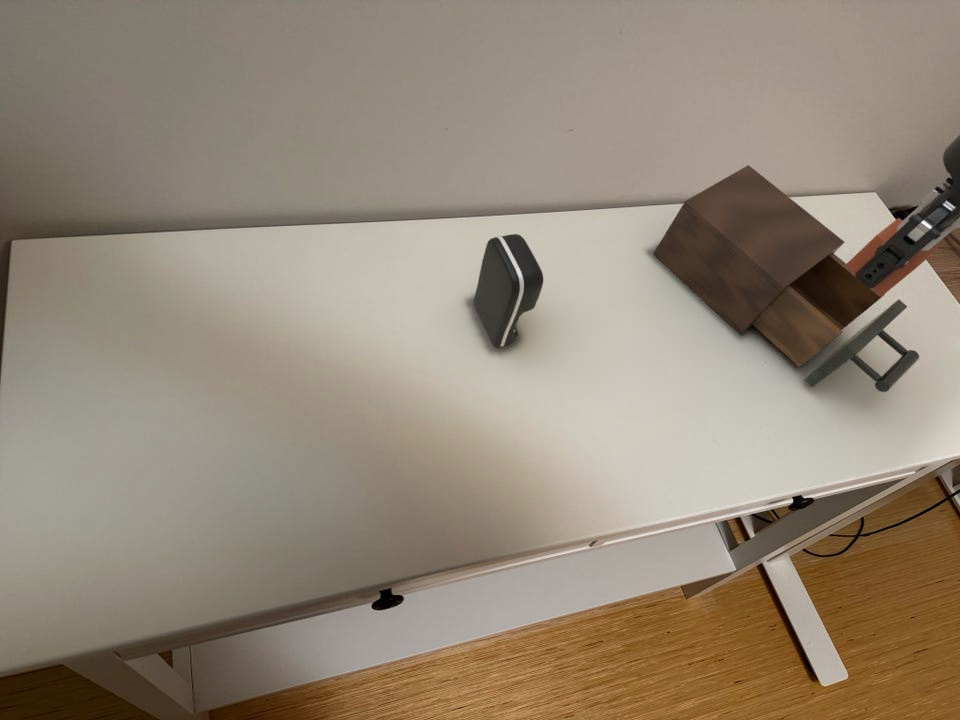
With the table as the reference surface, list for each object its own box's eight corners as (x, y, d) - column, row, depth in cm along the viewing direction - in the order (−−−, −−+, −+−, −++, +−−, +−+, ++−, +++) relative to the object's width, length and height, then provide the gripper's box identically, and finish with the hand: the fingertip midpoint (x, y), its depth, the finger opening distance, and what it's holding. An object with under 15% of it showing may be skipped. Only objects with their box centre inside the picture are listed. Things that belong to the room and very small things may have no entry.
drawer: (895, 371, 70) (946, 337, 63) (847, 420, 65) (897, 389, 58) (775, 267, 75) (810, 227, 69) (722, 305, 71) (755, 266, 64)
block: (902, 277, 61) (939, 247, 57) (881, 296, 59) (917, 266, 55) (866, 248, 62) (899, 217, 58) (844, 265, 60) (876, 234, 56)
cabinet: (797, 290, 75) (845, 241, 68) (739, 334, 70) (785, 287, 62) (712, 217, 80) (748, 164, 72) (652, 253, 75) (684, 200, 67)
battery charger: (526, 342, 64) (553, 276, 55) (494, 351, 63) (516, 285, 54) (501, 293, 67) (523, 223, 58) (471, 300, 66) (488, 229, 57)
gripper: (1046, 192, 42) (872, 327, 56) (1109, 131, 48) (938, 267, 62) (953, 130, 44) (810, 274, 58) (1025, 79, 50) (879, 221, 64)
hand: (876, 270), depth 60 cm, fingers closed on block, 4 cm apart
